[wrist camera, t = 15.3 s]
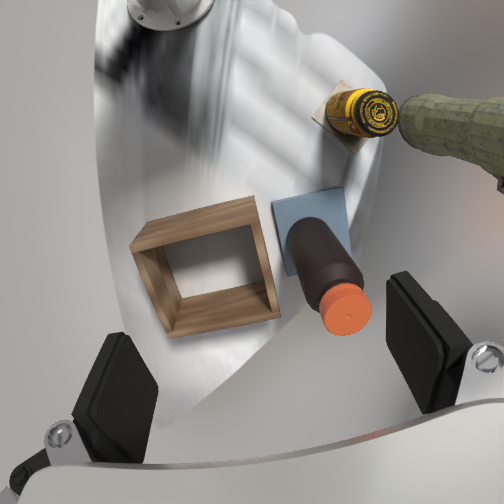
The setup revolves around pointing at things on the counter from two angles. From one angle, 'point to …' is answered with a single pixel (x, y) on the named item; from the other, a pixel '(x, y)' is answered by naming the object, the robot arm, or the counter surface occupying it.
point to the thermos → (457, 129)
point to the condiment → (357, 115)
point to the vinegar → (328, 276)
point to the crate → (210, 304)
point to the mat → (312, 205)
